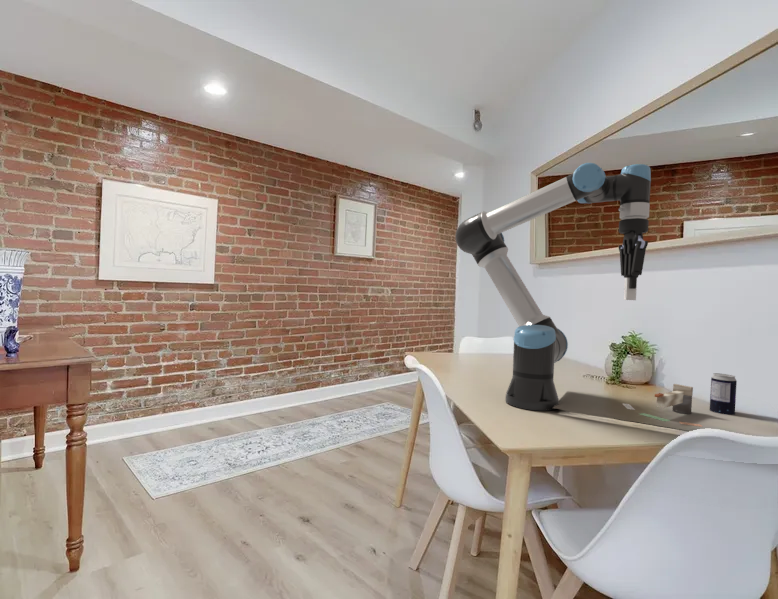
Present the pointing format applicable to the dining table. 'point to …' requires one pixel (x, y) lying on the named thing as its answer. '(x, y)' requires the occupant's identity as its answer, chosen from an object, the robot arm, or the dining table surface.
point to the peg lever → (677, 399)
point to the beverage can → (723, 394)
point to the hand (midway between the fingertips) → (629, 299)
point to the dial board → (657, 418)
